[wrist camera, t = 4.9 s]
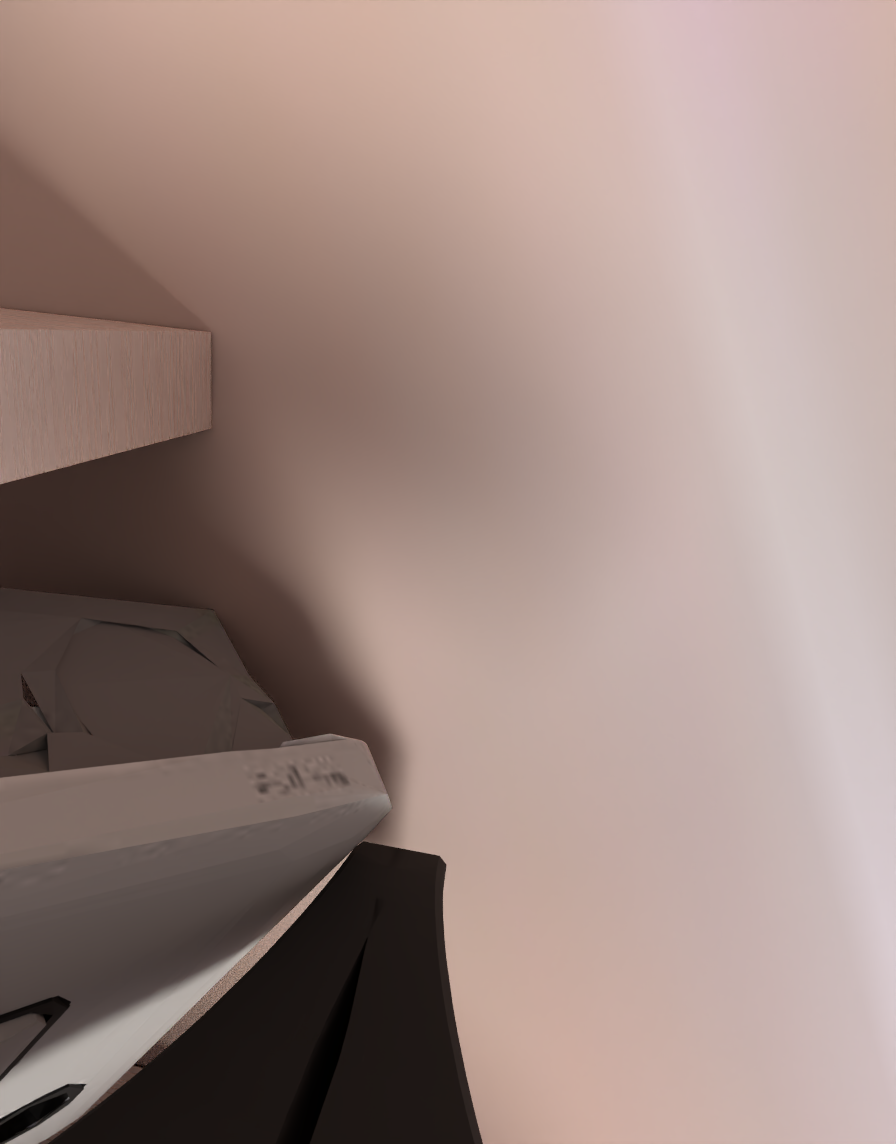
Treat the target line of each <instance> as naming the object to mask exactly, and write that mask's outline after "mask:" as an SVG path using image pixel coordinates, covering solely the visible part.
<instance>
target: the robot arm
mask: <svg viewBox="0 0 896 1144" xmlns="http://www.w3.org/2000/svg"><path fill="white" fill-rule="evenodd" d="M445 872H446V864H445V862H444V861H443V860H442V859H441V857H440V856H437V855H432V854H427V853H421V852H416V851H411V850H406V849H400V848H395V847H390V846H385V845H379V844H374V843H369V842H362V843H361V844H359V845H357V846H356V847H355V848H354V849H353V851H352V852H351V853H350V855H349V856H348V858H347V859H346V860H345V862H344V863H343V864H342V866H341V867H340V868H339V870H338V871H337V872H336V873H335V875H334V876H333V877H332V879H331V880H330V881H329V882H328V884H327V885H326V886H325V887H324V888H323V890H322V891H321V892H320V893H319V894H318V896H317V897H316V898H315V899H314V900H313V902H312V903H311V904H310V905H309V906H308V907H307V909H306V910H305V911H304V912H303V913H302V914H301V915H300V917H299V918H298V919H297V920H296V921H295V922H294V923H293V924H292V925H291V926H290V928H289V929H288V930H287V931H286V932H285V933H284V934H283V935H282V936H281V937H280V939H279V940H278V941H277V942H276V943H275V944H274V945H273V946H272V947H271V948H270V950H269V951H268V952H267V953H266V954H265V955H264V956H263V957H262V958H261V959H260V960H259V961H258V962H257V963H256V964H255V965H254V966H253V967H252V968H251V969H250V970H249V971H248V972H247V973H246V974H245V975H244V976H243V977H242V978H241V979H240V980H239V981H238V982H237V983H236V984H235V985H234V986H233V987H232V988H231V989H230V990H229V991H228V992H227V993H226V994H225V995H224V996H223V997H222V998H221V999H220V1000H219V1001H218V1002H217V1003H216V1004H215V1005H214V1006H213V1007H212V1008H211V1009H210V1010H208V1011H207V1012H206V1013H205V1014H204V1015H203V1016H202V1017H201V1018H200V1019H199V1020H198V1021H197V1022H195V1023H194V1024H193V1025H192V1026H191V1027H190V1028H189V1029H188V1030H187V1031H186V1032H185V1033H183V1034H182V1035H181V1036H180V1037H179V1038H178V1039H177V1040H176V1041H174V1042H173V1043H172V1044H171V1045H170V1046H169V1047H168V1048H166V1049H165V1050H164V1051H163V1052H162V1053H161V1054H159V1055H158V1056H157V1057H156V1058H155V1059H154V1060H152V1061H151V1062H150V1063H149V1064H148V1065H146V1066H145V1067H144V1068H143V1069H142V1070H141V1071H139V1072H138V1073H137V1074H136V1075H135V1076H133V1077H132V1078H131V1079H130V1080H129V1081H127V1082H126V1083H125V1084H124V1085H122V1086H121V1087H120V1088H119V1089H117V1090H116V1091H115V1092H114V1093H112V1094H111V1095H110V1096H108V1097H107V1098H106V1099H105V1100H103V1101H102V1102H101V1103H100V1104H98V1105H97V1106H96V1107H94V1108H93V1109H92V1110H91V1111H89V1112H88V1113H87V1114H86V1115H84V1116H83V1117H82V1118H81V1119H79V1120H78V1121H77V1122H75V1123H74V1124H73V1125H72V1126H70V1127H69V1128H68V1129H66V1130H65V1131H64V1132H62V1133H61V1134H60V1135H58V1136H57V1137H56V1138H54V1139H53V1140H52V1141H50V1142H49V1143H48V1144H483V1143H482V1139H481V1135H480V1131H479V1128H478V1124H477V1120H476V1116H475V1112H474V1107H473V1103H472V1099H471V1095H470V1090H469V1086H468V1082H467V1077H466V1073H465V1068H464V1063H463V1058H462V1053H461V1048H460V1043H459V1038H458V1033H457V1027H456V1022H455V1016H454V1010H453V1004H452V997H451V990H450V982H449V975H448V968H447V961H446V951H445V941H444V924H443V887H444V879H445Z"/></svg>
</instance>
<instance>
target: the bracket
mask: <svg viewBox="0 0 896 1144" xmlns="http://www.w3.org/2000/svg"><path fill="white" fill-rule="evenodd" d="M207 429H211V332H206V331H197V330H189V329H180V328H171V327H163V326H154V325H145V324H137V323H128V322H119V321H110V320H102V319H93V318H84V317H76V316H67V315H58V314H50V313H41V312H32V311H23V310H15V309H6V308H0V484H3V483H7V482H11V481H15V480H18V479H22V478H26V477H30V476H33V475H37V474H41V473H45V472H49V471H52V470H56V469H60V468H64V467H67V466H71V465H75V464H79V463H83V462H86V461H90V460H94V459H98V458H101V457H105V456H109V455H113V454H116V453H120V452H124V451H128V450H132V449H135V448H139V447H143V446H147V445H150V444H154V443H158V442H162V441H166V440H169V439H173V438H177V437H181V436H184V435H188V434H192V433H196V432H200V431H203V430H207ZM142 1069H143V1068H141V1067H137V1066H132V1067H131V1068H130V1069H129V1070H128V1071H127V1072H126V1073H125V1074H124V1075H123V1076H122V1077H121V1078H120V1079H119V1080H118V1081H117V1082H116V1083H115V1084H114V1085H113V1086H112V1087H110V1088H109V1089H108V1090H107V1091H106V1092H105V1093H104V1094H103V1095H102V1096H101V1097H100V1098H99V1099H98V1100H97V1101H96V1102H95V1103H94V1104H93V1105H92V1106H91V1107H90V1108H89V1109H88V1110H87V1111H86V1112H85V1113H84V1114H83V1115H81V1116H80V1117H79V1118H78V1119H77V1120H75V1121H74V1122H72V1123H71V1124H69V1125H68V1126H66V1127H64V1128H63V1129H61V1130H60V1131H58V1132H57V1133H55V1134H54V1135H52V1136H51V1137H49V1138H47V1139H46V1140H44V1141H42V1142H40V1143H38V1144H48V1143H49V1142H50V1141H52V1140H53V1139H54V1138H56V1137H57V1136H58V1135H60V1134H61V1133H62V1132H64V1131H65V1130H66V1129H68V1128H69V1127H70V1126H72V1125H73V1124H74V1123H75V1122H77V1121H78V1120H79V1119H81V1118H82V1117H83V1116H84V1115H86V1114H87V1113H88V1112H89V1111H91V1110H92V1109H93V1108H94V1107H96V1106H97V1105H98V1104H100V1103H101V1102H102V1101H103V1100H105V1099H106V1098H107V1097H108V1096H110V1095H111V1094H112V1093H114V1092H115V1091H116V1090H117V1089H119V1088H120V1087H121V1086H122V1085H124V1084H125V1083H126V1082H127V1081H129V1080H130V1079H131V1078H132V1077H133V1076H135V1075H136V1074H137V1073H138V1072H139V1071H141V1070H142Z"/></svg>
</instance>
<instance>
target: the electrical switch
mask: <svg viewBox="0 0 896 1144" xmlns="http://www.w3.org/2000/svg"><path fill="white" fill-rule="evenodd" d="M21 674H22V676H23V678H24V679H25V681H26V683H27V685H28V687H29V689H30V690H31V692H32V694H33V696H34V698H35V700H36V702H37V703H38V705H39V707H30V706H29V704H28V703H27V702H26V701H25V700H24V698H23V689H22V679H21ZM92 735H93V736H92ZM391 809H392V805H391V802H390V799H389V797H388V794H387V791H386V789H385V786H384V784H383V782H382V779H381V777H380V774H379V772H378V770H377V767H376V765H375V762H374V760H373V758H372V755H371V753H370V750H369V748H368V746H367V744H366V743H365V742H364V741H362V740H358V739H354V738H349V737H344V736H340V735H335V734H325V735H319V736H314V737H308V738H303V739H297V740H293V739H292V737H291V735H290V733H289V731H288V729H287V727H286V725H285V723H284V721H283V719H282V717H281V715H280V713H279V712H278V710H277V708H276V706H275V704H274V702H273V701H272V700H271V699H270V698H269V697H268V696H267V695H266V694H265V693H264V691H263V690H262V689H261V688H260V687H259V686H258V685H257V684H256V683H255V682H254V680H253V679H252V678H251V677H250V676H249V674H248V672H247V670H246V668H245V667H244V665H243V663H242V661H241V659H240V657H239V656H238V654H237V652H236V650H235V648H234V647H233V645H232V643H231V641H230V639H229V637H228V636H227V634H226V632H225V630H224V628H223V626H222V625H221V623H220V621H219V619H218V617H217V615H216V614H215V612H214V610H209V609H200V608H190V607H181V606H171V605H162V604H152V603H142V602H133V601H123V600H114V599H104V598H95V597H85V596H76V595H66V594H56V593H47V592H37V591H28V590H18V589H9V588H0V1144H38V1143H40V1142H42V1141H44V1140H46V1139H47V1138H49V1137H51V1136H52V1135H54V1134H55V1133H57V1132H58V1131H60V1130H61V1129H63V1128H64V1127H66V1126H68V1125H69V1124H71V1123H72V1122H74V1121H75V1120H77V1119H78V1118H79V1117H80V1116H81V1115H83V1114H84V1113H85V1112H86V1111H87V1110H88V1109H89V1108H90V1107H91V1106H92V1105H93V1104H94V1103H95V1102H96V1101H97V1100H98V1099H99V1098H100V1097H101V1096H102V1095H103V1094H104V1093H105V1092H106V1091H107V1090H108V1089H109V1088H110V1087H112V1086H113V1085H114V1084H115V1083H116V1082H117V1081H118V1080H119V1079H120V1078H121V1077H122V1076H123V1075H124V1074H125V1073H126V1072H127V1071H128V1070H129V1069H130V1068H131V1067H132V1066H133V1065H134V1064H135V1063H136V1062H137V1061H138V1060H139V1059H140V1058H141V1057H142V1056H143V1055H144V1054H145V1053H146V1052H147V1051H148V1050H149V1049H150V1048H151V1047H152V1046H153V1045H154V1044H155V1043H156V1042H157V1041H158V1040H159V1039H160V1038H161V1037H162V1036H163V1035H164V1034H165V1033H166V1032H168V1031H169V1030H170V1029H171V1028H172V1027H173V1026H174V1025H175V1024H176V1023H177V1022H178V1021H179V1020H180V1019H181V1018H182V1017H183V1016H184V1015H185V1014H186V1013H187V1012H188V1011H189V1010H190V1009H191V1008H192V1007H193V1006H194V1005H195V1004H196V1003H197V1002H198V1001H199V1000H200V999H201V998H202V997H203V996H204V995H205V994H206V993H207V992H208V991H209V990H210V989H211V988H212V987H213V986H214V985H215V984H216V983H217V982H218V981H219V980H220V979H221V978H222V977H224V976H225V975H226V974H227V973H228V972H229V971H230V970H231V969H232V968H233V967H234V966H235V965H236V964H237V963H238V962H239V961H240V960H241V959H242V958H243V957H244V956H245V955H246V954H247V953H248V952H249V951H250V950H251V949H252V948H253V947H254V946H255V945H256V944H257V943H258V942H259V941H260V940H261V939H262V938H263V937H264V936H265V935H266V934H267V933H268V932H269V931H270V930H271V929H272V928H273V927H274V926H275V925H276V924H277V923H278V922H280V921H281V920H282V919H283V918H284V917H285V916H286V915H287V914H288V913H289V912H290V911H291V910H292V909H293V908H294V907H295V906H296V905H297V904H298V903H299V902H300V901H301V900H302V899H303V898H304V897H305V896H306V895H307V894H308V893H309V892H310V891H311V890H312V889H313V888H314V887H315V886H316V885H317V884H318V883H319V882H320V881H321V880H322V879H323V878H324V877H325V876H326V875H327V874H328V873H329V872H330V871H331V870H332V869H333V868H334V867H335V866H336V865H338V864H339V863H340V862H341V861H342V860H343V859H344V858H345V857H346V856H347V855H348V854H349V853H350V852H351V851H352V850H353V849H354V848H355V847H356V846H357V845H358V844H359V843H360V842H361V841H362V840H363V839H364V838H365V837H366V836H367V835H368V834H369V833H370V832H371V831H372V830H373V829H374V828H375V827H376V826H377V825H378V823H379V822H380V821H381V820H382V819H383V818H384V817H385V816H386V815H387V813H388V812H389V811H390V810H391Z"/></svg>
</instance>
